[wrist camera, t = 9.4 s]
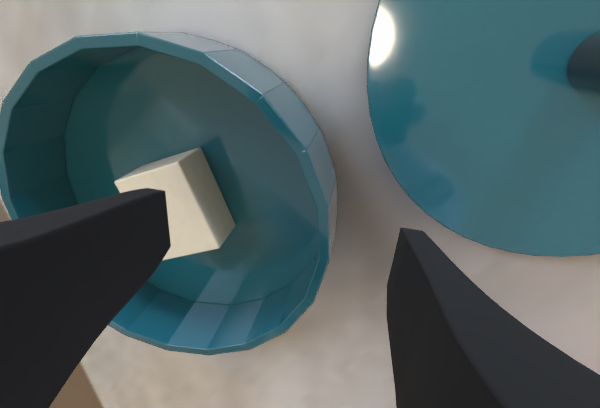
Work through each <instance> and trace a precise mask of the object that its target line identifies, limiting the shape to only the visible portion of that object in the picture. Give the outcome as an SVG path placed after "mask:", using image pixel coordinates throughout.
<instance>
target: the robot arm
mask: <svg viewBox="0 0 600 408" xmlns="http://www.w3.org/2000/svg"><path fill="white" fill-rule="evenodd" d="M170 247H171V244H170V234H169V224H168V214H167V204H166V194H165V191H163V190H157V189H150V188H143V189H137V190H132V191H127V192H123V193H119V194H115V195H112V196H108V197H104V198H100V199H97V200H93V201H89V202H86V203H82V204H78V205H75V206H71V207H67V208H63V209H58V210H54V211H50V212H46V213H42V214H38V215H34V216H29V217H25V218H20V219H15V220H10V221H5V222H0V408H49V406H50V405H51V403H52V402H53V400H54V399H55V397H56V396H57V394H58V393H59V391H60V390H61V388H62V387H63V385H64V384H65V382H66V381H67V379H68V378H69V376H70V375H71V373H72V372H73V371H74V369H75V368H76V366H77V365H78V364H79V362H80V361H81V359H82V358H83V357H84V355H85V354H86V352H87V351H88V350H89V348H90V347H91V345H92V344H93V343H94V341H95V340H96V339H97V337H98V336H99V335H100V334H101V333H102V331H103V330H104V329H105V328H106V326H107V325H108V324H109V323H110V322H111V321H112V320H113V319H114V317H115V316H116V315H117V314H118V313H119V312H120V311H121V309H122V308H123V307H124V306H125V305H126V304H127V303H128V302H129V300H130V299H131V298H132V297H133V296H134V295H135V294H136V293H137V291H138V290H139V289H140V288H141V287H142V286H143V285H144V283H145V282H146V281H147V280H148V279H149V278H150V276H151V275H152V274H153V273H154V272H155V270H156V269H157V267H158V266H159V264H160V263H161V261H162V260H163V258H164V257H165V255H166V253H167V252H168V250H169V248H170ZM387 322H388V331H389V340H390V349H391V357H392V365H393V374H394V382H395V392H396V406H397V408H600V375H599V374H597V373H595V372H594V371H592V370H590V369H589V368H587V367H586V366H584V365H582V364H581V363H579V362H577V361H576V360H574V359H573V358H571V357H570V356H568V355H567V354H565V353H564V352H562V351H561V350H559V349H558V348H556V347H555V346H553V345H552V344H550V343H549V342H547V341H546V340H544V339H543V338H541V337H540V336H538V335H537V334H536V333H534V332H533V331H531V330H530V329H529V328H527V327H526V326H525V325H523V324H522V323H521V322H519V321H518V320H517V319H515V318H514V317H513V316H512V315H510V314H509V313H508V312H506V311H505V310H504V309H503V308H501V307H500V306H499V305H498V304H497V303H495V302H494V301H493V300H492V299H491V298H489V297H488V296H487V295H486V294H485V293H484V292H483V291H482V290H481V289H480V288H478V287H477V286H476V285H475V284H474V283H473V282H472V281H471V280H470V279H469V278H468V277H467V276H466V275H465V274H464V273H463V272H462V271H461V270H460V269H459V268H458V267H457V266H456V265H455V264H454V263H453V262H452V261H451V260H450V259H449V258H448V257H447V256H446V255H445V254H444V253H443V252H442V251H441V249H440V248H439V247H438V246H437V245H436V244H435V243H434V242H433V241H432V240H431V239H430V238H429V237H428V235H427V234H426V233H424V232H423V231H419V230H413V229H406V228H401V229H400V233H399V238H398V242H397V246H396V250H395V254H394V259H393V263H392V267H391V271H390V275H389V280H388V284H387Z"/></svg>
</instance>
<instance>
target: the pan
mask: <svg viewBox="0 0 600 408" xmlns="http://www.w3.org/2000/svg"><path fill="white" fill-rule="evenodd" d="M199 147H200V148H201V149H202V151H203V153H204V155H205V158H206V160H207V162H208V164H209V167H210V169H211V171H212V173H213V175H214V178H215V180H216V182H217V184H218V187H219V189H220V191H221V193H222V195H223V198H224V200H225V202H226V204H227V207H228V209H229V211H230V213H231V215H232V218H233V220H234V222H235V224H236V226H235V227H234V229H233V230H232V232H231V233H230V234H229V236H228V237H227V239H226V240H225V241H224V243H223V244H222V245H221V247H220V248H219V249H214V250H210V251H205V252H200V253H195V254H191V255H186V256H181V257H177V258H172V259H167V260H163V261H161V263H160V264H159V266H158V267H157V269H156V270H155V272H154V273H153V274H152V275H151V276H150V278H149V279H148V280H147V281H146V282H145V283H144V285H143V286H142V287H141V288H140V289H139V290H138V291H137V293H136V294H135V295H134V296H133V297H132V298H131V299H130V300H129V302H128V303H127V304H126V305H125V306H124V307H123V308H122V309H121V311H120V312H119V313H118V314H117V315H116V316H115V317H114V319H113V320H112V321H111V322H110V323H109V324H108V325H109V326H110V327H112V328H114V329H115V330H117V331H119V332H120V333H122V334H124V335H126V336H128V337H131V338H134V339H137V340H140V341H142V342H145V343H148V344H151V345H154V346H157V347H159V348H162V349H165V350H169V351H177V352H185V353H194V354H202V355H215V354H222V353H230V352H237V351H244V350H249V349H252V348H254V347H256V346H258V345H260V344H262V343H264V342H266V341H269V340H271V339H273V338H275V337H277V336H279V335H281V334H283V333H285V332H286V331H287V330H288V329H289V328H290V327H291V326H292V325H293V324H294V323H295V322H296V321H297V320H298V318H299V317H300V316H301V315H302V314H303V313H304V312H305V311H306V310H307V309H308V308H309V307H310V306H311V305H312V304H313V302H314V300H315V298H316V295H317V292H318V290H319V287H320V284H321V282H322V279H323V276H324V274H325V271H326V268H327V266H328V263H329V260H330V255H331V249H332V244H333V239H334V234H335V229H336V223H337V183H336V174H335V171H334V165H333V162H332V159H331V155H330V152H329V149H328V146H327V144H326V141H325V139H324V137H323V135H322V133H321V131H320V128H319V126H318V125H317V123H316V122H315V120H314V118H313V117H312V115H311V114H310V112H309V110H308V109H307V107H306V106H305V105H304V104H303V102H302V101H301V100H300V99H299V97H298V96H297V95H296V94H295V93H294V91H293V90H292V89H291V88H290V87H289V86H288V85H287V84H286V83H285V82H283V81H282V80H281V79H280V78H279V77H278V76H277V75H276V74H275V73H274V72H272V71H271V70H269V69H268V68H267V67H265V66H264V65H263V64H261V63H260V62H259V61H257V60H256V59H254V58H252V57H250V56H248V55H246V54H245V53H243V52H241V51H239V50H237V49H236V48H233V47H230V46H228V45H225V44H222V43H220V42H217V41H214V40H210V39H206V38H201V37H197V36H193V35H190V34H187V33H174V32H128V33H113V34H99V35H84V36H77V37H74V38H72V39H70V40H69V41H67V42H65V43H63V44H61V45H59V46H58V47H56V48H54V49H52V50H50V51H49V52H47V53H45V54H43V55H41V56H40V57H38V58H36V59H34V60H32V61H31V62H30V63H29V64H28V65H27V67H26V68H25V70H24V71H23V73H22V74H21V76H20V77H19V79H18V80H17V81H16V83H15V84H14V86H13V87H12V89H11V90H10V92H9V93H8V95H7V96H6V98H5V99H4V101H3V103H2V107H1V113H0V190H1V196H2V199H3V202H4V204H5V206H6V208H7V210H8V213H9V215H10V217H11V219H12V220H15V219H20V218H25V217H29V216H34V215H38V214H42V213H46V212H50V211H54V210H58V209H63V208H67V207H71V206H75V205H78V204H82V203H86V202H89V201H93V200H97V199H100V198H104V197H108V196H112V195H115V194H119V193H120V192H119V190H118V188H117V186H116V185H115V181H116V180H118V179H119V178H121V177H123V176H125V175H126V174H128V173H130V172H132V171H134V170H135V169H137V168H139V167H141V166H142V165H145V164H148V163H152V162H155V161H158V160H161V159H164V158H167V157H170V156H174V155H177V154H180V153H183V152H186V151H189V150H192V149H196V148H199Z"/></svg>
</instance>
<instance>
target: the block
mask: <svg viewBox="0 0 600 408" xmlns="http://www.w3.org/2000/svg"><path fill="white" fill-rule="evenodd" d="M115 185H116V186H117V188H118V190H119V192H120V193H123V192H127V191H132V190H137V189H143V188H150V189H157V190H163V191H165V194H166V204H167V214H168V224H169V234H170V244H171V247H170V248H169V250H168V252H167V253H166V255H165V257H164V258H163V260H167V259H172V258H177V257H181V256H186V255H191V254H195V253H200V252H205V251H210V250H214V249H219V248H220V247H221V245H222V244H223V243H224V241H225V240H226V239H227V237H228V236H229V234H230V233H231V232H232V230H233V229H234V227H235V226H236V224H235V222H234V220H233V218H232V215H231V213H230V211H229V209H228V207H227V204H226V202H225V200H224V198H223V195H222V193H221V191H220V189H219V187H218V184H217V182H216V180H215V178H214V175H213V173H212V171H211V169H210V167H209V164H208V162H207V160H206V158H205V155H204V153H203V151H202V149H201V148H200V147H199V148H196V149H192V150H189V151H186V152H183V153H180V154H177V155H174V156H170V157H167V158H164V159H161V160H158V161H155V162H152V163H148V164H145V165H142V166H141V167H139V168H137V169H135V170H134V171H132V172H130V173H128V174H126V175H125V176H123V177H121V178H119V179H118V180H116V181H115ZM163 260H162V261H163Z"/></svg>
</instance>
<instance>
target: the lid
mask: <svg viewBox="0 0 600 408" xmlns="http://www.w3.org/2000/svg"><path fill="white" fill-rule="evenodd" d="M367 93H368V101H369V110H370V117H371V121H372V124H373V128H374V132H375V136H376V140H377V142H378V145H379V147H380V150H381V152H382V154H383V157H384V159H385V162H386V163H387V165H388V167H389V168H390V170H391V172H392V174H393V175H394V177H395V179H396V180H397V182H398V183H399V184H400V186H401V187H402V188H403V189H404V191H405V192H406V193H407V194H408V196H409V197H410V198H411V199H412V200H413V201H414V202H415V203H416V204H417V205H418V206H419V207H420V208H421V209H422V210H424V211H425V212H426V213H427V214H428V215H429V216H431V217H432V218H434V219H435V220H436V221H438V222H439V223H441V224H442V225H443V226H445V227H447V228H448V229H450V230H452V231H454V232H456V233H458V234H460V235H461V236H463V237H465V238H468V239H470V240H473V241H476V242H478V243H481V244H483V245H486V246H489V247H493V248H497V249H501V250H505V251H508V252H514V253H521V254H528V255H534V256H556V257H565V256H584V255H594V254H600V0H379V3H378V7H377V11H376V15H375V19H374V23H373V27H372V31H371V38H370V45H369V53H368V60H367Z"/></svg>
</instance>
